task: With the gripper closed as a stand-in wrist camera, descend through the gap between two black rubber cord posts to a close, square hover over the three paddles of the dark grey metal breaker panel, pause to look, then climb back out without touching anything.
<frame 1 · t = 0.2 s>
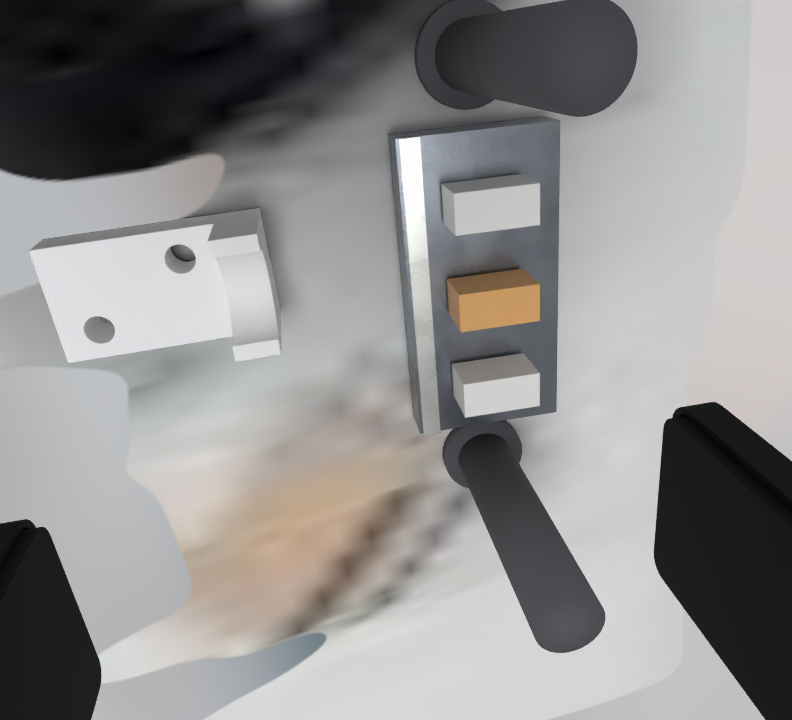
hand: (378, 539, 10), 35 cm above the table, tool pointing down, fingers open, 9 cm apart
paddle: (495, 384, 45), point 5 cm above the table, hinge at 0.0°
cord post b: (480, 449, 53), on the table
bracket: (170, 273, 44), on the table
breaker panel: (473, 277, 47), on the table
cord post a: (463, 55, 41), on the table
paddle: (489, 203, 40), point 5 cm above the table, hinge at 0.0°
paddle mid: (492, 299, 43), point 5 cm above the table, hinge at 0.0°
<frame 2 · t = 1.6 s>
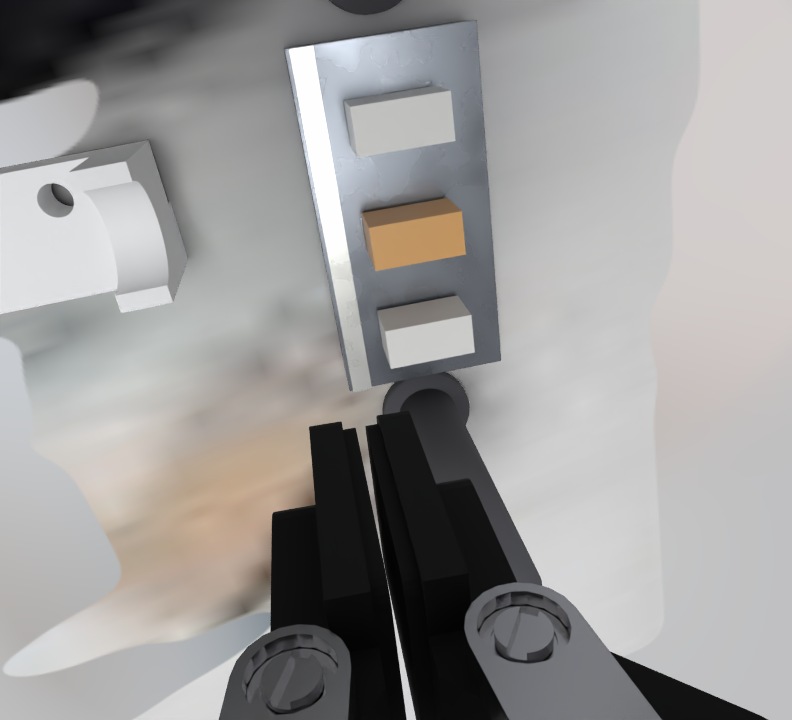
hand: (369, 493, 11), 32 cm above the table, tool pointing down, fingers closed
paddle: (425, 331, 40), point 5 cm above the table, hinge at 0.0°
cord post b: (424, 406, 48), on the table
bracket: (58, 221, 39), on the table
breaker panel: (398, 213, 42), on the table
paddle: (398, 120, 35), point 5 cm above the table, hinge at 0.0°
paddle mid: (412, 233, 38), point 5 cm above the table, hinge at 0.0°
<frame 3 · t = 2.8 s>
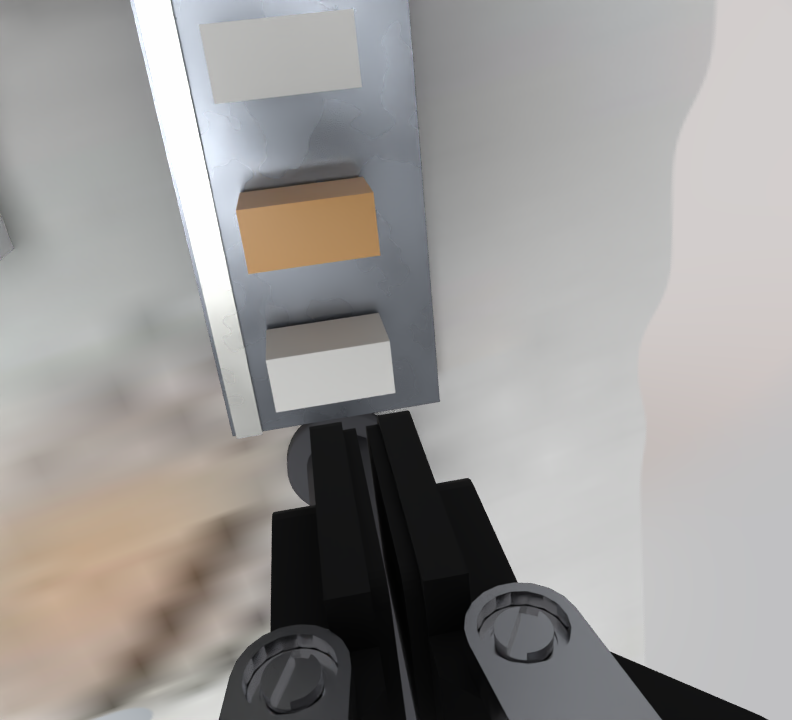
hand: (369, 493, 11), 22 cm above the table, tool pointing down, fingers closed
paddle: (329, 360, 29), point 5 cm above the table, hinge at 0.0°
cord post b: (343, 456, 37), on the table
breaker panel: (303, 198, 31), on the table
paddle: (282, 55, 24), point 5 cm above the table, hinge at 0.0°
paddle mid: (308, 223, 27), point 5 cm above the table, hinge at 0.0°
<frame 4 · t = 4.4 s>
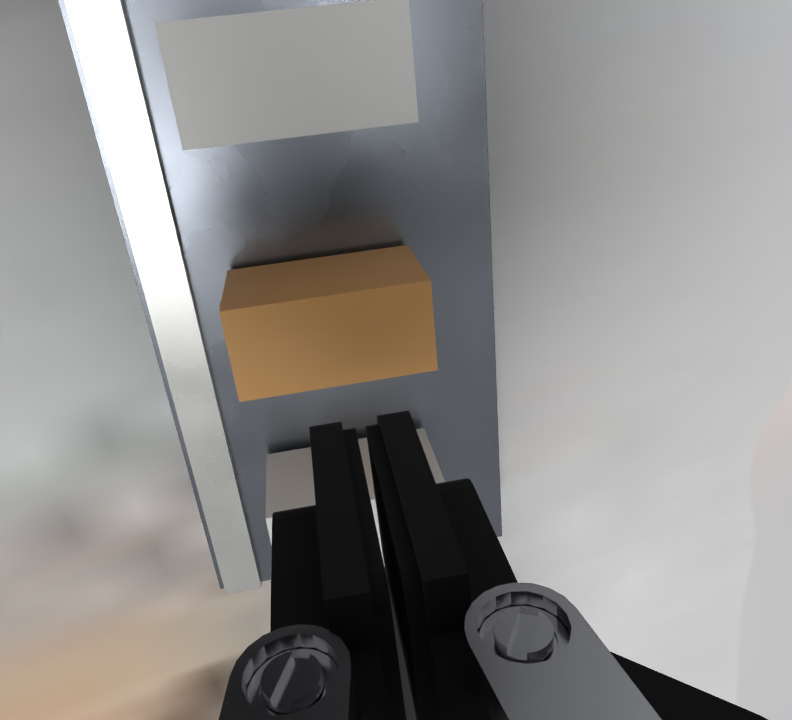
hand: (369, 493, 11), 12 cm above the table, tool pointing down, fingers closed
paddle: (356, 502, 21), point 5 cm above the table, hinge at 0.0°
cord post b: (367, 589, 28), on the table
breaker panel: (318, 266, 22), on the table
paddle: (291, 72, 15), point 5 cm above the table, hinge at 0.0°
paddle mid: (328, 318, 18), point 5 cm above the table, hinge at 0.0°
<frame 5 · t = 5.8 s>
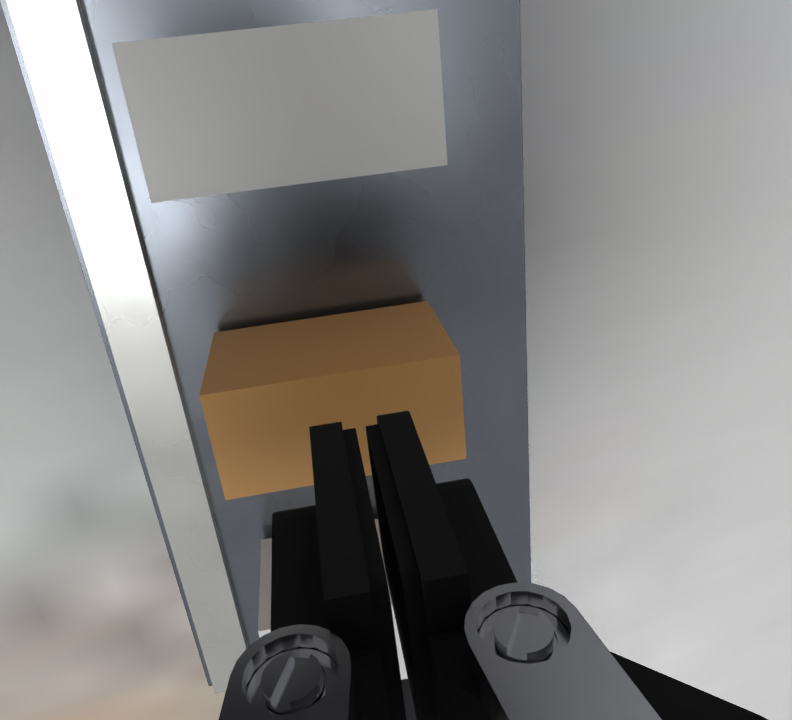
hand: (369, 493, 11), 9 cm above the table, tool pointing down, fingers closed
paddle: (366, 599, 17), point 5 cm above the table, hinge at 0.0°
cord post b: (376, 671, 25), on the table
breaker panel: (321, 317, 19), on the table
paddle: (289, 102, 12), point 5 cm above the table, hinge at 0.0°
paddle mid: (334, 392, 15), point 5 cm above the table, hinge at 0.0°
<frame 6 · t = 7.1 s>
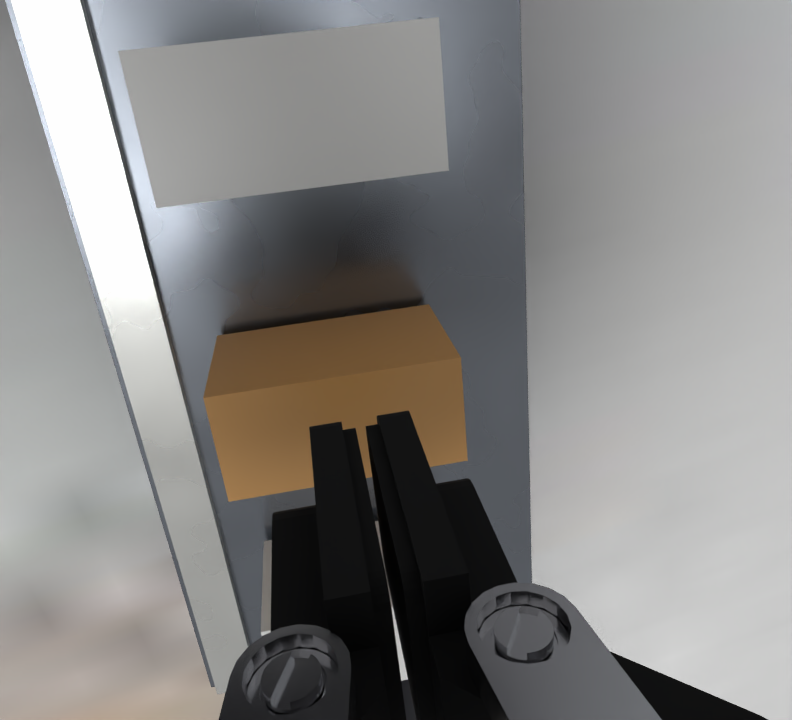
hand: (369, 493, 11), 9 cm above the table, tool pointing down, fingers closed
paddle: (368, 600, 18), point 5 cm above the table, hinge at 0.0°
cord post b: (378, 672, 25), on the table
breaker panel: (324, 320, 19), on the table
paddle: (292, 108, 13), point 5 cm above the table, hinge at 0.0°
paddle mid: (336, 395, 15), point 5 cm above the table, hinge at 0.0°
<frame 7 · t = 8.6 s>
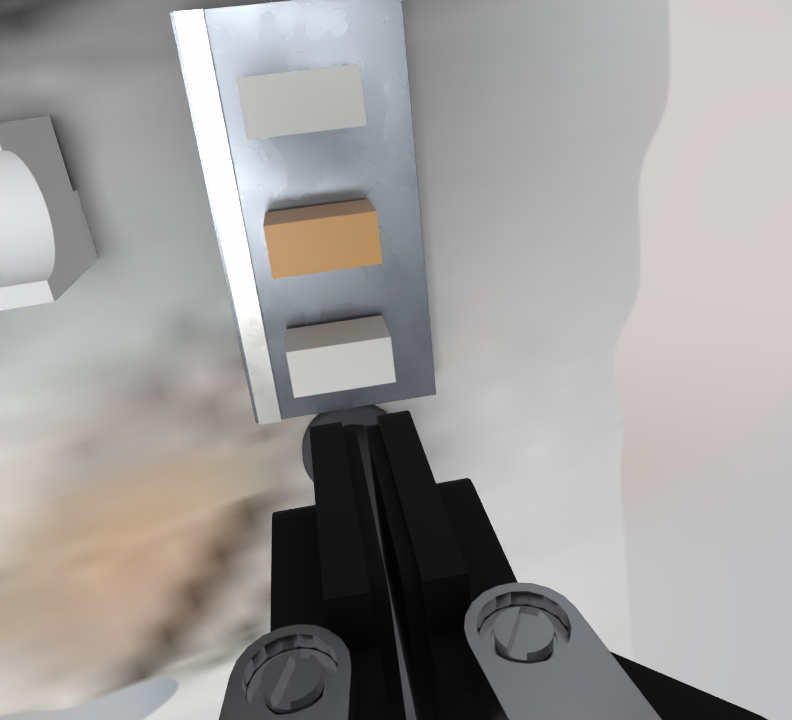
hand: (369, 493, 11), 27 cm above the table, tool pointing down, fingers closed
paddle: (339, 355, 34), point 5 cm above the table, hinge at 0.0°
cord post b: (351, 445, 42), on the table
breaker panel: (318, 217, 36), on the table
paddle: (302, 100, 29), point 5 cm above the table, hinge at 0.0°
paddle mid: (322, 237, 32), point 5 cm above the table, hinge at 0.0°
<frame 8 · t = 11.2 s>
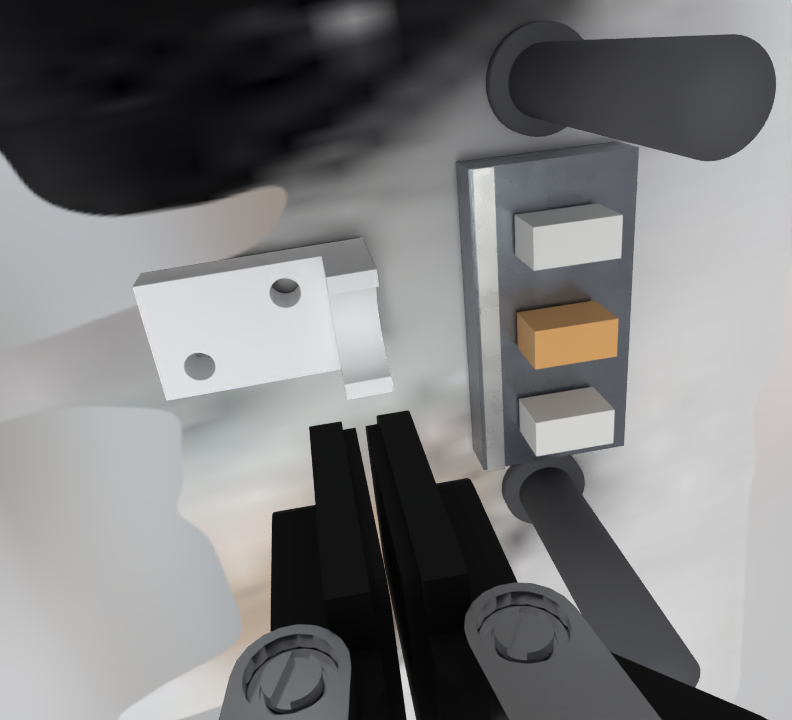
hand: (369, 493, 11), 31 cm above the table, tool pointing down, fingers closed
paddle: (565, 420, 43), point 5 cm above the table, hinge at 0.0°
cord post b: (540, 482, 51), on the table
bracket: (265, 304, 43), on the table
breaker panel: (539, 307, 45), on the table
cord post a: (536, 80, 39), on the table
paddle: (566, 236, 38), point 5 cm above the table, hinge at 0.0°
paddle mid: (566, 334, 41), point 5 cm above the table, hinge at 0.0°
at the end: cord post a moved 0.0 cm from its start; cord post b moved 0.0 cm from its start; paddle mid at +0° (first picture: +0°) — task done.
